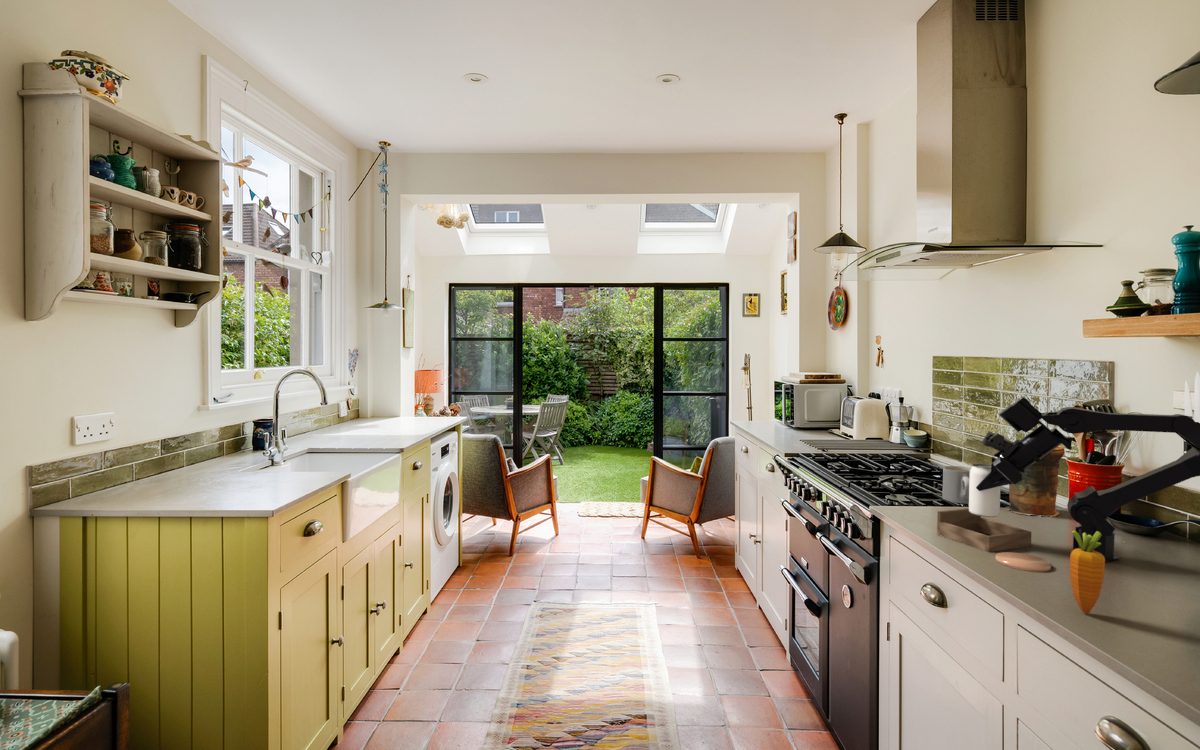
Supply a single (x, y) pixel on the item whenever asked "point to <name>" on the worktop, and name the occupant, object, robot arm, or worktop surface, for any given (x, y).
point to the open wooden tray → (964, 524)
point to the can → (982, 493)
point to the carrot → (1087, 571)
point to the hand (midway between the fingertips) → (978, 486)
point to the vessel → (1037, 487)
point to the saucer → (1023, 561)
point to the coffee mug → (956, 484)
